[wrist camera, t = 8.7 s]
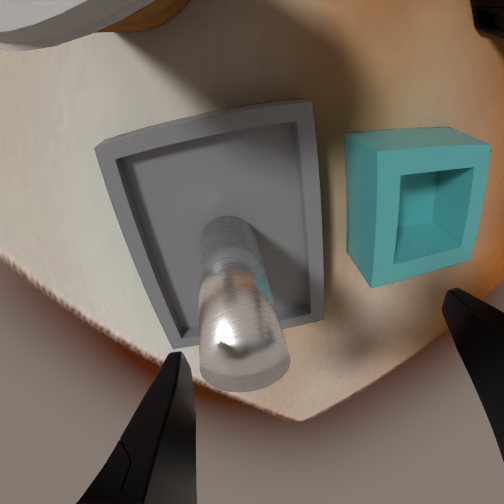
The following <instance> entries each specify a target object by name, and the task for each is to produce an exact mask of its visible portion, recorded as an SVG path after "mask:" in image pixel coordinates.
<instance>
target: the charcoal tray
mask: <svg viewBox="0 0 504 504" xmlns="http://www.w3.org/2000/svg"><path fill="white" fill-rule="evenodd" d="M94 149H95V152H96V156H97V159H98V162H99V166H100V169H101V172H102V175H103V178H104V181H105V185H106V188H107V191H108V194H109V196H110V199H111V202H112V205H113V208H114V211H115V214H116V217H117V219H118V222H119V225H120V227H121V230H122V233H123V235H124V238H125V241H126V243H127V246H128V248H129V251H130V254H131V256H132V259H133V261H134V264H135V266H136V268H137V271H138V273H139V276H140V278H141V280H142V283H143V285H144V287H145V290H146V292H147V294H148V297H149V299H150V301H151V303H152V306H153V308H154V310H155V312H156V314H157V317H158V319H159V321H160V323H161V325H162V327H163V329H164V331H165V334H166V336H167V338H168V340H169V342H170V344H171V346H172V348H173V349H177V348H183V347H190V346H196V345H199V239H200V234H201V232H202V230H203V228H204V227H205V226H206V225H207V224H208V223H209V222H210V221H212V220H213V219H215V218H218V217H221V216H235V217H239V218H241V219H243V220H245V221H246V222H247V223H249V224H250V226H251V227H252V229H253V230H254V233H255V236H256V240H257V243H258V247H259V250H260V254H261V257H262V261H263V264H264V268H265V271H266V275H267V278H268V282H269V285H270V289H271V292H272V296H273V299H274V303H275V306H276V310H277V313H278V317H279V320H280V324H281V327H282V329H285V328H290V327H294V326H299V325H303V324H307V323H312V322H316V321H320V320H324V270H323V237H322V214H321V196H320V180H319V166H318V154H317V142H316V131H315V121H314V111H313V102H312V101H309V100H305V99H293V100H284V101H276V102H269V103H262V104H255V105H249V106H243V107H237V108H231V109H226V110H220V111H215V112H210V113H205V114H200V115H196V116H191V117H187V118H182V119H178V120H174V121H170V122H166V123H162V124H158V125H154V126H150V127H146V128H143V129H139V130H136V131H132V132H129V133H125V134H122V135H119V136H115V137H112V138H109V139H106V140H104V141H102V142H101V143H100V144H98V145H97V146H96V147H94Z"/></svg>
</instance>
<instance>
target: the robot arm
mask: <svg viewBox="0 0 504 504" xmlns="http://www.w3.org/2000/svg"><path fill="white" fill-rule="evenodd" d="M471 3H472V9H473V16H474V23H475V26H476V28H477V29H478V30H481V31H484V32H487V33H491V34H494V35H497V36H500V37H503V38H504V0H471ZM480 24H481V26H480ZM442 313H443V316H444V318H445V320H446V323H447V325H448V328H449V330H450V333H451V335H452V338H453V340H454V343H455V345H456V348H457V350H458V352H459V354H460V356H461V358H462V360H463V362H464V365H465V367H466V369H467V371H468V373H469V375H470V377H471V379H472V382H473V384H474V386H475V388H476V391H477V393H478V395H479V397H480V400H481V402H482V404H483V407H484V409H485V412H486V414H487V416H488V419H489V422H490V424H491V427H492V429H493V432H494V435H495V438H496V441H497V443H498V446H499V449H500V452H501V455H502V458H503V461H504V313H503V312H502V311H500V310H498V309H496V308H494V307H493V306H491V305H489V304H487V303H485V302H484V301H482V300H480V299H478V298H476V297H474V296H472V295H471V294H469V293H467V292H465V291H463V290H461V289H459V288H454V289H451V290H448V291H447V293H446V296H445V299H444V303H443V306H442ZM196 492H197V491H196V412H195V403H194V393H193V383H192V374H191V368H190V366H189V364H188V362H187V360H186V358H185V356H184V354H183V353H182V352H172V353H169V354H168V356H167V358H166V359H165V361H164V363H163V364H162V366H161V368H160V370H159V371H158V373H157V375H156V376H155V378H154V380H153V382H152V384H151V385H150V387H149V389H148V390H147V392H146V394H145V396H144V397H143V399H142V401H141V403H140V405H139V406H138V408H137V410H136V411H135V413H134V415H133V417H132V419H131V420H130V422H129V424H128V426H127V427H126V429H125V431H124V433H123V434H122V436H121V438H120V440H119V441H118V443H117V445H116V447H115V448H114V450H113V452H112V454H111V455H110V457H109V459H108V460H107V462H106V463H105V465H104V466H103V468H102V469H101V471H100V472H99V474H98V475H97V476H96V478H95V479H94V481H93V482H92V483H91V485H90V486H89V487H88V489H87V490H86V492H85V493H84V495H83V496H82V497H81V498H80V500H79V501H78V502H77V503H76V504H197V495H196V494H197V493H196Z"/></svg>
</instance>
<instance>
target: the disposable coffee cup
mask: <svg viewBox="0 0 504 504" xmlns="http://www.w3.org/2000/svg"><path fill="white" fill-rule="evenodd" d="M188 1H189V0H0V50H4V51H26V50H32V49H39V48H46V47H52V46H57V45H60V44H62V43H65V42H68V41H71V40H74V39H77V38H80V37H83V36H86V35H90V34H92V33H96V32H139V31H143V30H148V29H152V28H154V27H157V26H159V25H161V24H163V23H165V22H166V21H168V20H170V19H171V18H173V17H174V16H175V15H176V14H178V13H179V12H180V11H181V10H182V9H183V8H184V7H185V5H186V4H187V2H188Z"/></svg>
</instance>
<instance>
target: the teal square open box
mask: <svg viewBox="0 0 504 504" xmlns="http://www.w3.org/2000/svg"><path fill="white" fill-rule="evenodd" d="M344 144H345V165H346V198H347V253H348V255H349V256H350V258H351V259H352V261H353V262H354V264H355V265H356V266H357V268H358V269H359V271H360V272H361V274H362V275H363V277H364V278H365V280H366V282H367V283H368V285H369V286H370V288H374V287H378V286H382V285H386V284H389V283H393V282H397V281H400V280H404V279H408V278H411V277H415V276H418V275H422V274H425V273H429V272H432V271H436V270H439V269H442V268H446V267H449V266H452V265H456V264H459V263H462V262H465V261H468V260H471V256H472V252H473V248H474V244H475V240H476V235H477V231H478V226H479V221H480V216H481V211H482V205H483V200H484V193H485V187H486V180H487V172H488V164H489V154H490V144H488V143H486V142H484V141H482V140H479V139H477V138H475V137H472V136H470V135H468V134H465V133H463V132H460V131H458V130H455V129H453V128H450V127H434V128H407V129H389V130H375V131H363V132H352V133H344Z"/></svg>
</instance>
